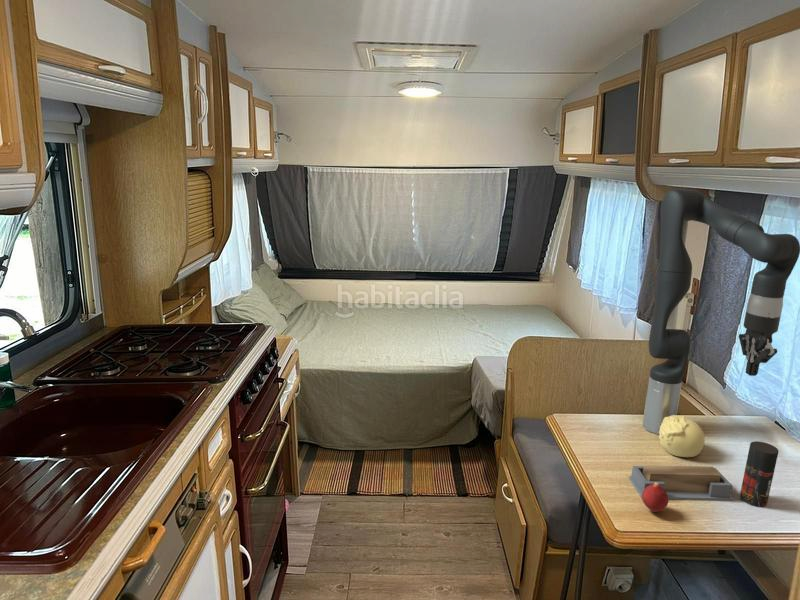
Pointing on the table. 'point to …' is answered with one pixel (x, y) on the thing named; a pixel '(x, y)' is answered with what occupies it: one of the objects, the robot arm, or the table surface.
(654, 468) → the slat
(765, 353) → the robot arm
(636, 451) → the table surface
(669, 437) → the sculpture
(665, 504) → the onion
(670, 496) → the endcaps
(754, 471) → the deodorant
